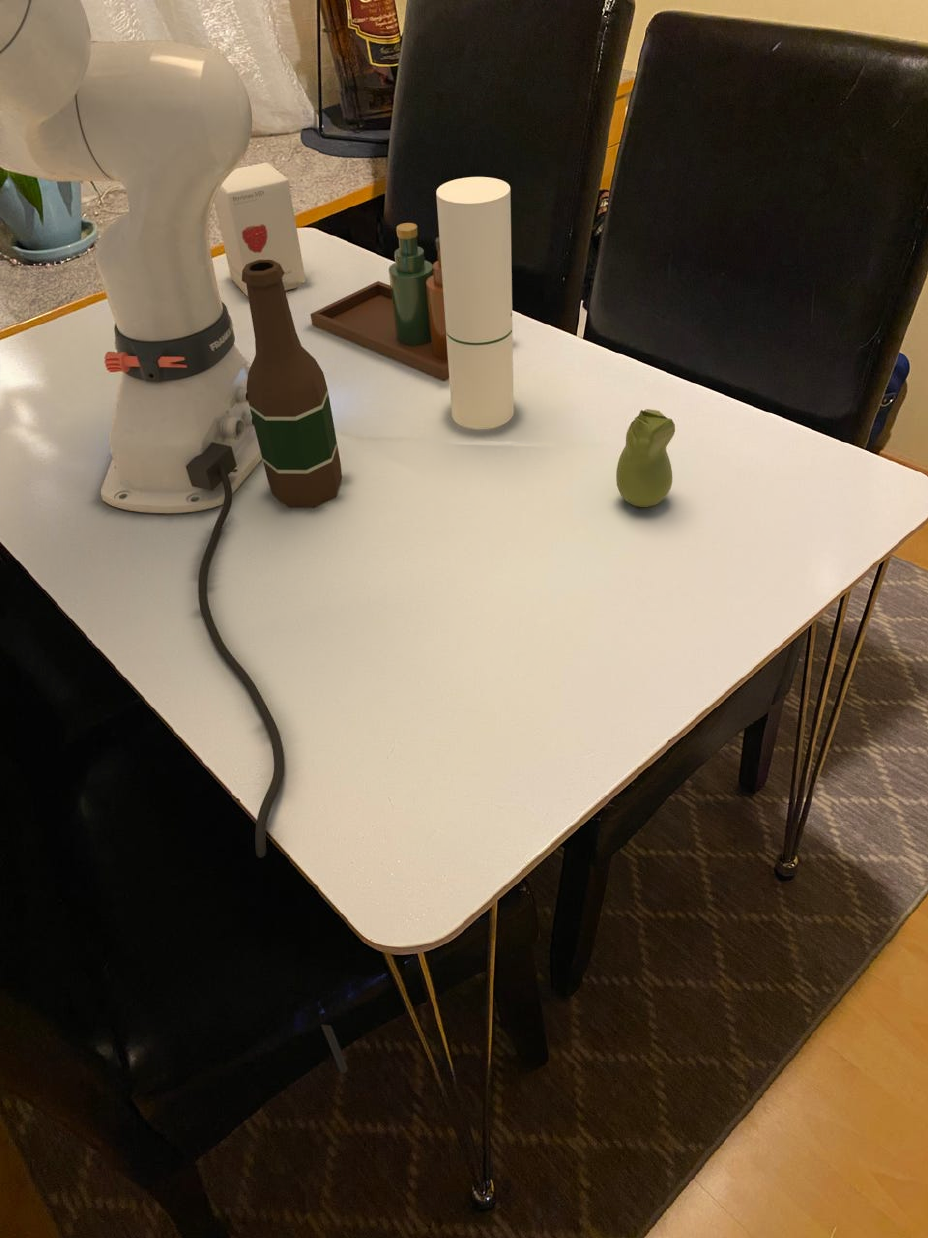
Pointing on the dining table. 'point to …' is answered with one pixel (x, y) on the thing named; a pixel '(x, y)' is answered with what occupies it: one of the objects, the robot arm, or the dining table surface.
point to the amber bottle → (437, 309)
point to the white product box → (259, 223)
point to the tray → (376, 328)
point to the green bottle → (410, 288)
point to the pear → (646, 460)
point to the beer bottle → (288, 398)
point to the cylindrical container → (477, 298)
